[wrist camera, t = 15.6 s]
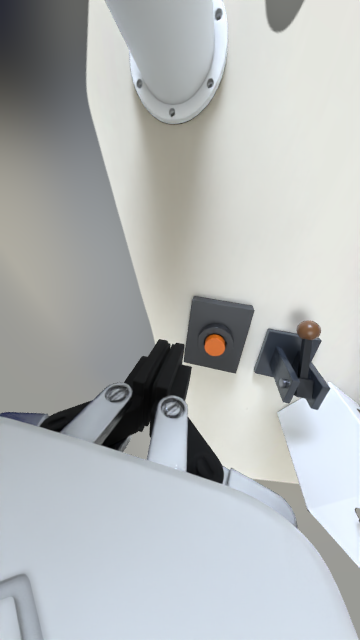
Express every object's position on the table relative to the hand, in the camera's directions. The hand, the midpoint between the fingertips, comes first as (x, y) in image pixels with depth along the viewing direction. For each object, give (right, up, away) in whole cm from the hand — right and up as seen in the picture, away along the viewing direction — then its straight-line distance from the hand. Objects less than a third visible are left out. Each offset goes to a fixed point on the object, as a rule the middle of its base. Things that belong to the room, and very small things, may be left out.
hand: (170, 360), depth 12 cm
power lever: (+21, -4, +19) cm, 28 cm away
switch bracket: (+21, -4, +25) cm, 33 cm away
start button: (+7, -2, +22) cm, 24 cm away
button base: (+8, 0, +26) cm, 27 cm away
